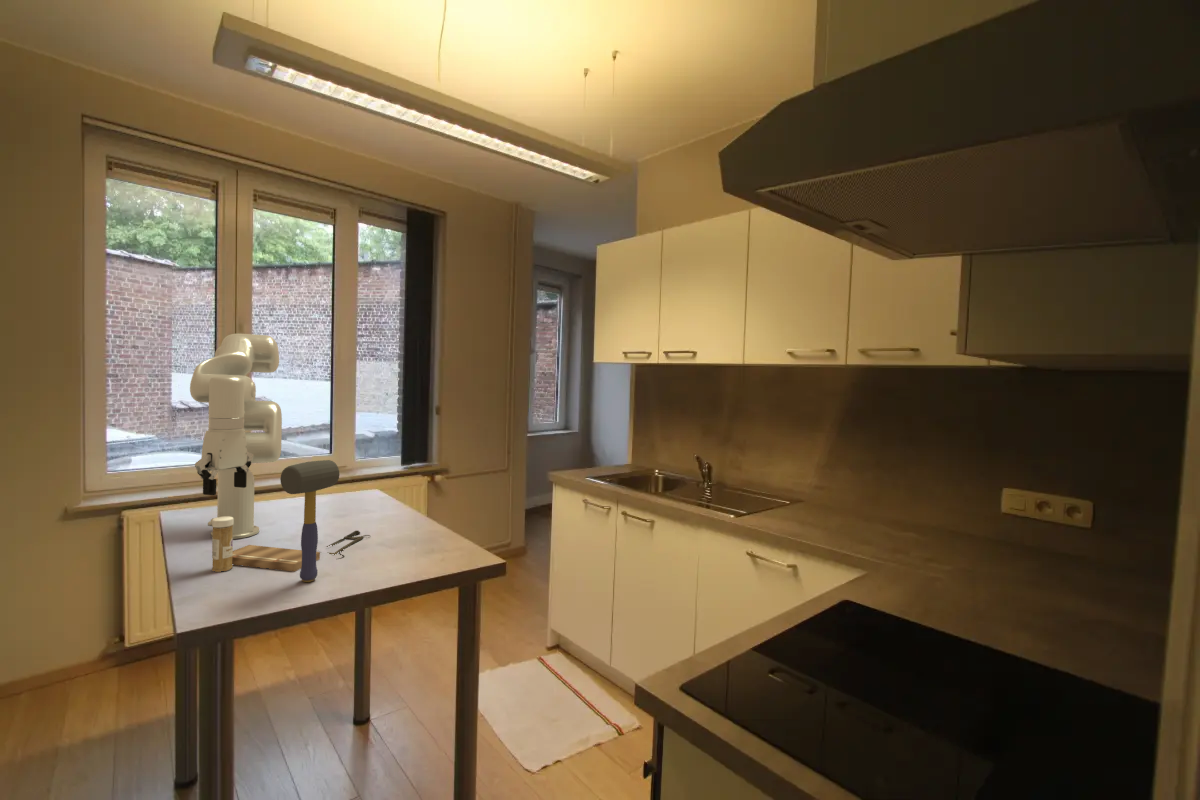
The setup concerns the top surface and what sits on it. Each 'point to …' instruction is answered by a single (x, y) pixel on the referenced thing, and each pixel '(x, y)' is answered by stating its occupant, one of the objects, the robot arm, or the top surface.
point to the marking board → (269, 557)
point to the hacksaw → (349, 543)
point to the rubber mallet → (309, 504)
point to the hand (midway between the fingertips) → (225, 490)
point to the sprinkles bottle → (222, 543)
